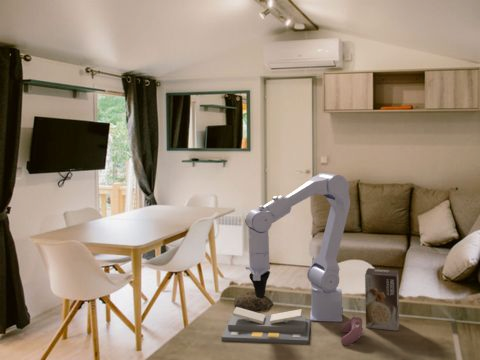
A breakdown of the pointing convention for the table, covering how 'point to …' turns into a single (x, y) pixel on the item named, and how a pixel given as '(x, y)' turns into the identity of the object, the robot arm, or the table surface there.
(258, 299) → the bread roll
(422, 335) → the table surface
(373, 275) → the coffee box
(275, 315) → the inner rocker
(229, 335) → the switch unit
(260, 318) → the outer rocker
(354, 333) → the pink curved piece
